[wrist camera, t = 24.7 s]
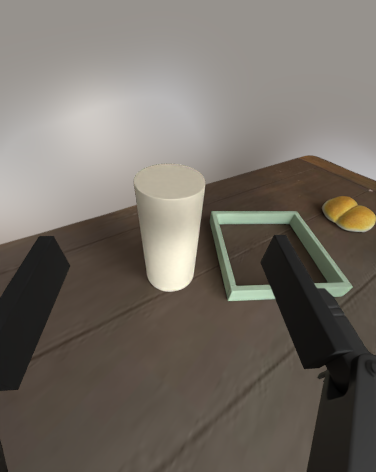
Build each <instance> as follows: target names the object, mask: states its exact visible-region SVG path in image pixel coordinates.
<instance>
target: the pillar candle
mask: <svg viewBox="0 0 376 472" xmlns="http://www.w3.org/2000/svg"><path fill="white" fill-rule="evenodd" d="M134 188H135V195H136V202H137V209H138V216H139V223H140V230H141V237H142V244H143V251H144V258H145V265H146V272H147V277H148V280H149V281H150V283H151V284H152V285H153V286H154V287H156V288H158V289H160V290H163V291H177V290H180V289H182V288H184V287H186V286H187V285H188V284H189V283H190V282H191V280H192V278H193V275H194V268H195V260H196V253H197V245H198V237H199V229H200V222H201V214H202V206H203V198H204V191H205V179H204V177H203V175H202V174H201V173H199V172H198V171H197V170H195V169H193V168H190V167H187V166H184V165H179V164H158V165H153V166H149V167H146V168H144V169H142V170H141V171H139V172H138V173H137V174H136V175H135V177H134Z"/></svg>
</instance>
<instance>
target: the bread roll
mask: <svg viewBox="0 0 376 472" xmlns="http://www.w3.org/2000/svg"><path fill="white" fill-rule="evenodd" d="M322 210H323V212H324V214H325V216H326V217H327V218H328V219H329V220H331V221H332V222H335V223H336V224H337V225H338V226H339V227H341V228H342V229H344V230H348V231H355V232H366V231H368V230H370V229H371V228H372V227H373V226H374V224H375V221H376V217H375V214H374V213H373V212H372V211H371V210H370V209H368V208H366V207H364V206H358V205H357V203H356V202H355V201H354V200H353V199H352V198H350V197H346V196H341V197H336V198H333V199H331V200H328V201H327V202H325V203H324V205H323V206H322Z"/></svg>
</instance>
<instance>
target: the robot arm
mask: <svg viewBox="0 0 376 472" xmlns="http://www.w3.org/2000/svg"><path fill="white" fill-rule="evenodd" d="M261 265H262V267H263V270H264V272H265V275H266V277H267V279H268V282H269V284H270V287H271V289H272V292H273V294H274V297H275V299H276V302H277V304H278V306H279V309H280V311H281V314H282V316H283V319H284V321H285V324H286V326H287V328H288V331H289V333H290V336H291V338H292V341H293V343H294V346H295V348H296V351H297V353H298V355H299V358H300V360H301V363H302V365H303V368H304V369H312V368H320V367H322V366H324V365H326V367H327V369H328V370H326V371H324V372H322V373H320V374H319V375H318V377H317V378H319V379H322V378H324V377H325V379H324V381H323V382H324V384H323V389H322V395H321V400H320V405H319V410H318V415H317V421H316V426H315V431H314V436H313V441H312V447H311V452H310V457H309V462H308V467H307V472H376V356H375V355H373V354H371V353H370V352H369V351H368V350H367V348H366V347H365V346H364V344H363V342H362V341H361V339H360V338H359V336H358V335H357V333H356V331H355V330H354V328H353V327H352V325H351V324H350V322H349V320H348V319H347V317H346V316H345V314H344V312H343V311H342V309H341V308H340V306H339V305H338V303H337V301H336V300H335V298H334V297H333V296H332V295H331V294H330V293H329V292H328V291H327V290H326V289H325V288H317V287H316V286H315V284H314V282H313V280H312V279H311V277H310V275H309V274H308V272H307V270H306V269H305V267H304V265H303V263H302V262H301V260H300V258H299V257H298V255H297V253H296V252H295V250H294V248H293V247H292V245H291V243H290V241H289V240H288V238H287V236H286V235H274V236H273V238H272V240H271V242H270V244H269V246H268V248H267V250H266V252H265V254H264V256H263V258H262V260H261ZM69 267H70V265H69V263H68V261H67V259H66V257H65V256H64V254H63V252H62V250H61V249H60V247H59V245H58V243H57V241H56V240H55V238H54V236H39V237H38V239H37V241H36V242H35V244H34V245H33V247H32V248H31V250H30V252H29V253H28V255H27V256H26V258H25V259H24V261H23V263H22V264H21V266H20V267H19V269H18V270H17V272H16V274H15V275H14V277H13V278H12V280H11V281H10V283H9V285H8V286H7V288H6V289H5V291H4V292H3V294H2V296H1V297H0V391H5V390H18V389H19V386H20V384H21V381H22V379H23V377H24V374H25V372H26V370H27V367H28V365H29V362H30V360H31V358H32V355H33V353H34V351H35V348H36V346H37V343H38V341H39V339H40V336H41V334H42V332H43V329H44V327H45V324H46V322H47V320H48V317H49V315H50V313H51V310H52V308H53V305H54V303H55V301H56V298H57V296H58V294H59V291H60V289H61V286H62V284H63V282H64V279H65V277H66V275H67V272H68V270H69ZM0 472H8V469H7V465H6V461H5V457H4V453H3V449H2V445H1V441H0Z"/></svg>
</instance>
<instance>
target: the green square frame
mask: <svg viewBox="0 0 376 472" xmlns="http://www.w3.org/2000/svg"><path fill="white" fill-rule="evenodd" d="M219 224H290V225H291V227H292V228H293V230H294V231H295V233H296V235H297V236H298V238H299V239H300V241H301V242H302V244H303V245H304V247H305V248H306V250H307V251H308V253H309V254H310V256H311V257H312V259H313V260H314V262H315V263H316V265H317V267H318V268H319V270H320V271H321V273H322V274H323V276H324V277H325V279H326V280H327V282H328V283H314V284H315V286H316V287H317V288H325V289H326V290H327V291H328V292H329V293H330V294H331V295H332V296H333V297H341V296H343V295H344V294H346V293H347V292H348V291H349V290H350V289H351V288H352V285H351V284H350V283H349V281H348V280H347V278H346V277H345V276H344V274H343V273H342V272H341V270H340V269H339V268H338V266H337V265H336V264H335V262H334V261H333V260H332V258H331V257H330V256H329V254H328V253H327V252H326V250H325V249H324V247H323V246H322V245H321V243H320V242H319V241H318V239H317V238H316V237H315V235H314V234H313V233H312V231H311V230H310V229H309V227H308V226H307V225H306V223H305V222H304V221H303V219H302V218H301V217H300V215H299V214H298V212H297V211H211V217H210V225H211V229H212V233H213V238H214V242H215V247H216V251H217V255H218V260H219V264H220V268H221V273H222V277H223V281H224V286H225V290H226V294H227V299H228V301H239V300H265V299H275V297H274V294H273V292H272V289H271V287H270V285H250V286H236V283H235V280H234V276H233V273H232V269H231V265H230V262H229V258H228V255H227V251H226V247H225V244H224V240H223V236H222V233H221V229H220V226H219Z"/></svg>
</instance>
